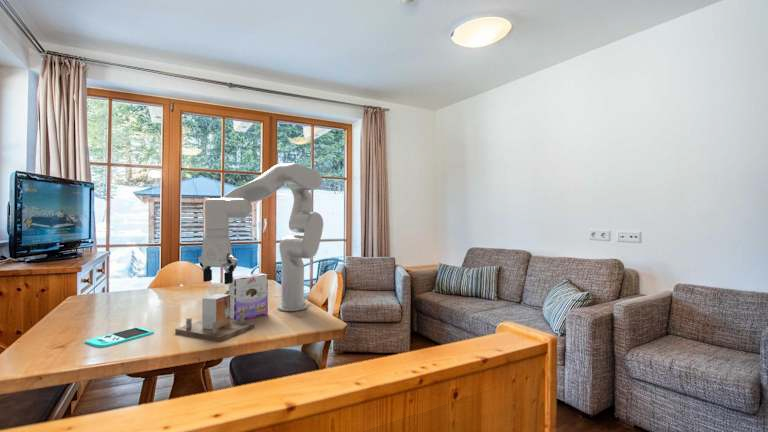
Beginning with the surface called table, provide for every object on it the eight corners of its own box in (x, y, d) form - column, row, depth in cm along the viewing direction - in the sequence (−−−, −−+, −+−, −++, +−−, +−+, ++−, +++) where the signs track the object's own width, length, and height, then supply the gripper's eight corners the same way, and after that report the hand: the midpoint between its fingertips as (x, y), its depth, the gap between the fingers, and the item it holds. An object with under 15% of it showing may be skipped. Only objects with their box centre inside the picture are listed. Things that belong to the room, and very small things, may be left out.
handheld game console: (84, 344, 116) (84, 339, 116) (137, 330, 130) (137, 326, 130) (100, 350, 112) (100, 345, 112) (154, 334, 126) (154, 330, 126)
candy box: (261, 311, 154) (261, 272, 154) (268, 314, 150) (268, 274, 150) (227, 318, 144) (228, 276, 144) (234, 321, 140) (234, 278, 140)
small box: (215, 330, 125) (216, 299, 125) (201, 328, 126) (201, 298, 126) (230, 323, 133) (231, 294, 133) (217, 322, 134) (217, 293, 134)
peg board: (213, 320, 141) (213, 307, 141) (254, 327, 133) (254, 313, 133) (175, 333, 126) (175, 318, 126) (219, 341, 118) (219, 326, 118)
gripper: (189, 233, 129) (190, 282, 130) (227, 235, 122) (228, 286, 123) (207, 232, 136) (208, 278, 137) (244, 233, 129) (245, 282, 130)
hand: (218, 282), depth 130 cm, fingers open, 9 cm apart
